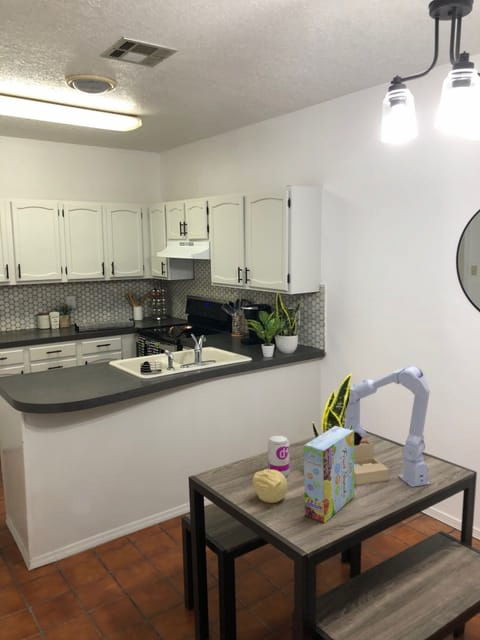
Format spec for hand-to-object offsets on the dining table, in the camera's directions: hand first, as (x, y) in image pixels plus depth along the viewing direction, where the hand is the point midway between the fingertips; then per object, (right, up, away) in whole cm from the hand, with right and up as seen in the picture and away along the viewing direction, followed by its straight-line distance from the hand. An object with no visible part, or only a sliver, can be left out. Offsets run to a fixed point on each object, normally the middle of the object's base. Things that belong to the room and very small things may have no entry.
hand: (352, 447), depth 210 cm
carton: (+3, -9, -9) cm, 13 cm away
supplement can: (-31, -9, -7) cm, 33 cm away
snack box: (-15, -13, -32) cm, 37 cm away
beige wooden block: (+1, -1, -5) cm, 5 cm away
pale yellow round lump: (-35, -12, -26) cm, 45 cm away
